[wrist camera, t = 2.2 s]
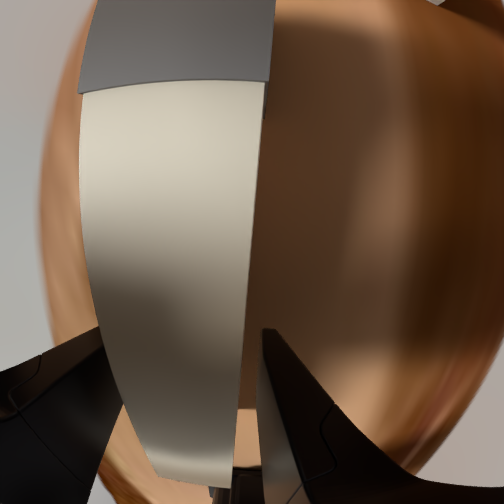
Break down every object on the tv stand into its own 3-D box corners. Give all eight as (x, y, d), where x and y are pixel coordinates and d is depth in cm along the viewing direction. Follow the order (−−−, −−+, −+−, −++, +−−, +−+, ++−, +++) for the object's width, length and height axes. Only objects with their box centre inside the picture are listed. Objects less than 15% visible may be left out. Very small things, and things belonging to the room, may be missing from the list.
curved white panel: (239, 409, 11) (231, 490, 7) (177, 401, 11) (156, 478, 7) (272, 24, 6) (281, -67, 2) (177, 24, 6) (117, -50, 2)
